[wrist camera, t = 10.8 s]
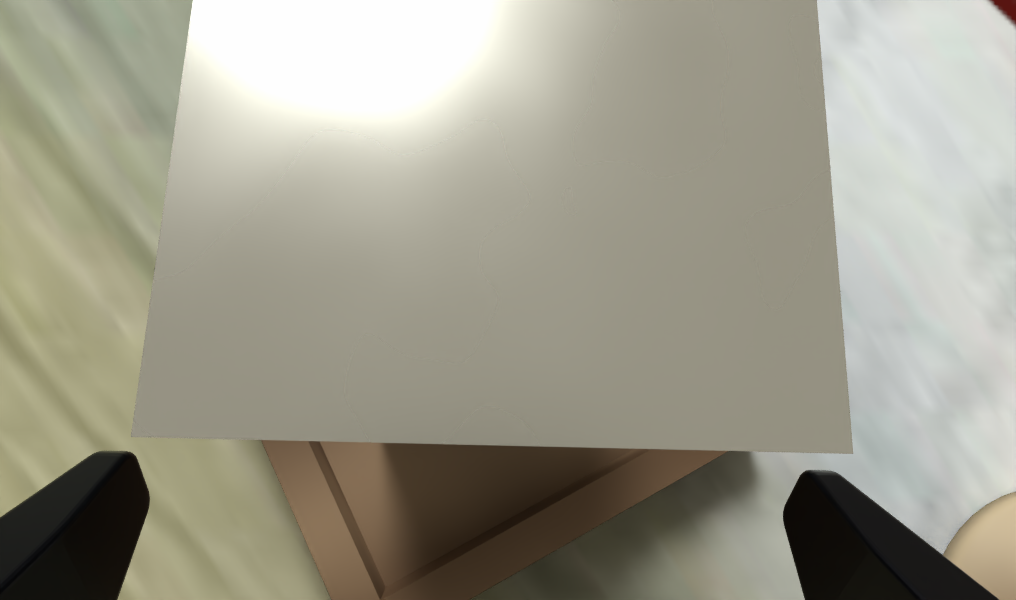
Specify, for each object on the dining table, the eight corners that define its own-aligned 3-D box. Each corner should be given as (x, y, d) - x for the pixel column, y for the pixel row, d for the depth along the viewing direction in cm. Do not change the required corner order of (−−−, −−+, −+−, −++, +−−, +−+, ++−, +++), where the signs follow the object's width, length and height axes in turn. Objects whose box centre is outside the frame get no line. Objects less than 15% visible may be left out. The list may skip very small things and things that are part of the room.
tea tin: (561, 426, 17) (853, 454, 5) (372, 421, 16) (132, 437, 4) (563, 246, 18) (806, -131, 6) (385, 238, 17) (219, -191, 5)
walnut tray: (742, 423, 18) (774, 424, 16) (369, 635, 16) (359, 662, 14) (555, 86, 20) (565, 53, 18) (194, 241, 18) (165, 222, 16)
